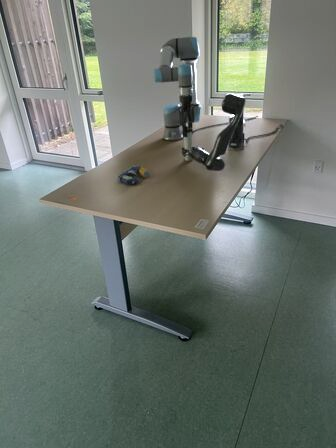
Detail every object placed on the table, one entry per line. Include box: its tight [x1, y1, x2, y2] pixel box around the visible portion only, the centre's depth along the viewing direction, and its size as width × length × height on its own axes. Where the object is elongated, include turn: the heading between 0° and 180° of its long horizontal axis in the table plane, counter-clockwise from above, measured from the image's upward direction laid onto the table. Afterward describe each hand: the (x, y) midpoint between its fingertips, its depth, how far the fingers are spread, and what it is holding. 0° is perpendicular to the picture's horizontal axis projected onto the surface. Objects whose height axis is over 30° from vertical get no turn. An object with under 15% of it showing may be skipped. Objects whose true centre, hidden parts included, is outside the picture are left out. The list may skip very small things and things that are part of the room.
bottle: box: [183, 132, 194, 162], centre depth 203 cm, size 5×5×19 cm
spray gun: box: [116, 164, 150, 186], centre depth 188 cm, size 21×4×15 cm
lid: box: [187, 126, 194, 133], centre depth 199 cm, size 6×6×2 cm
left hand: (187, 135), depth 200 cm, fingers closed on lid, 6 cm apart
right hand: (186, 148), depth 207 cm, fingers closed on bottle, 4 cm apart
